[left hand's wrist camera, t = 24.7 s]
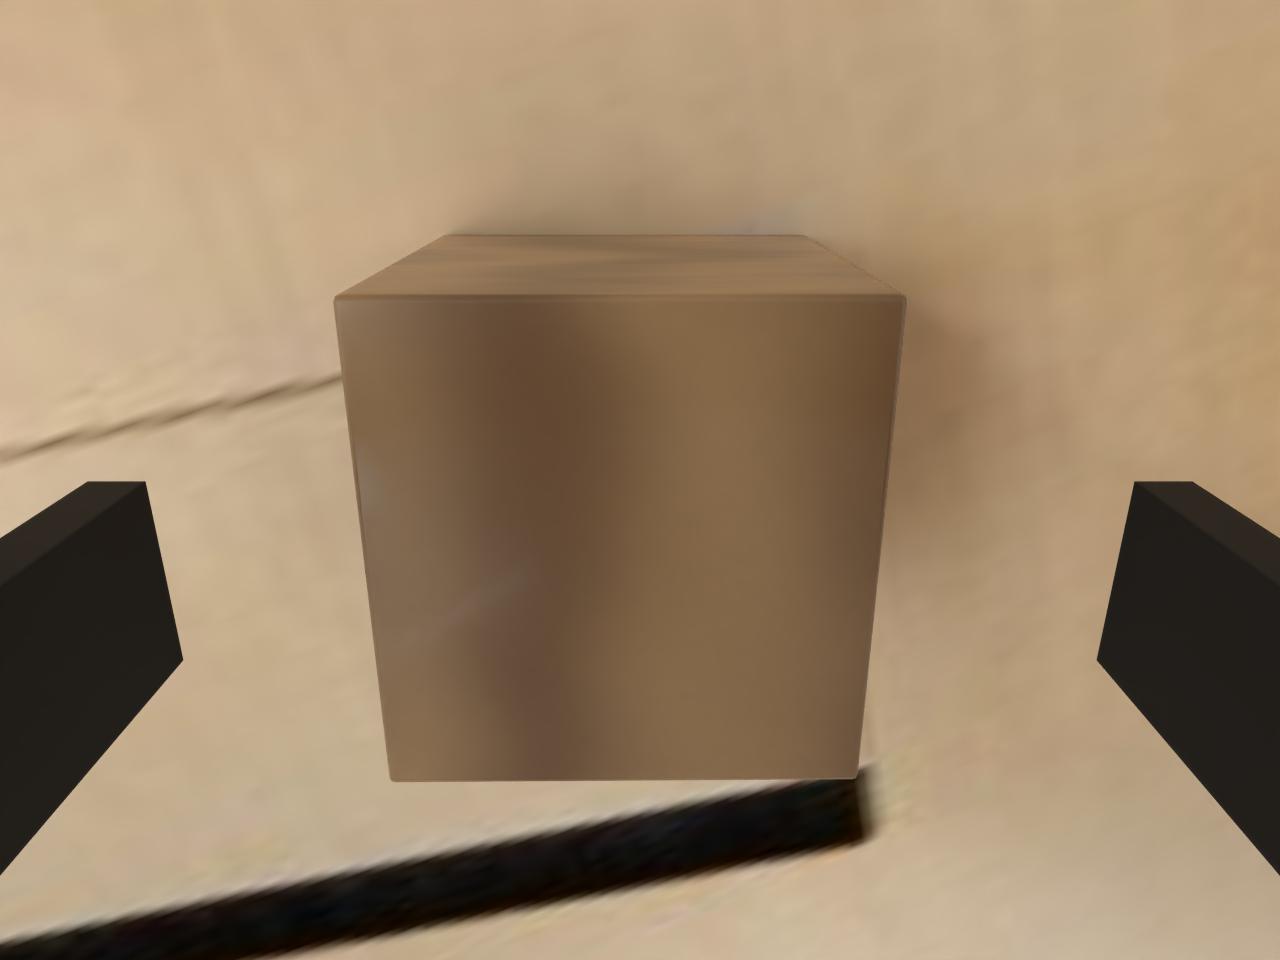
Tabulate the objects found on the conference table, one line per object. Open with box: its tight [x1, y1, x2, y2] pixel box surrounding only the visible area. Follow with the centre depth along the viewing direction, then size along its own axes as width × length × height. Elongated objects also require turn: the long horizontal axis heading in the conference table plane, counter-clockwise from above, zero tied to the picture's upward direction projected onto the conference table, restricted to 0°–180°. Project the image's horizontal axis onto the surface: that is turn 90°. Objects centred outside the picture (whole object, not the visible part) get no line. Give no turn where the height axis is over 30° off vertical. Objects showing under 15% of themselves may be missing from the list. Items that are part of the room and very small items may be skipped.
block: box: [333, 235, 907, 782], centre depth 17 cm, size 8×8×8 cm
